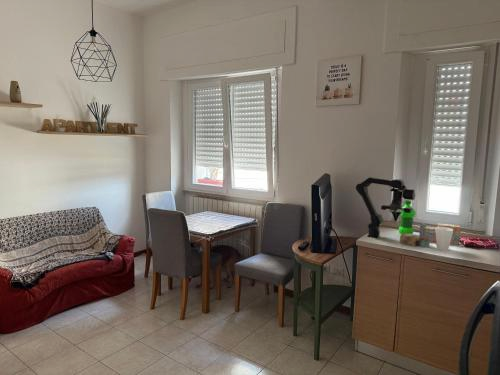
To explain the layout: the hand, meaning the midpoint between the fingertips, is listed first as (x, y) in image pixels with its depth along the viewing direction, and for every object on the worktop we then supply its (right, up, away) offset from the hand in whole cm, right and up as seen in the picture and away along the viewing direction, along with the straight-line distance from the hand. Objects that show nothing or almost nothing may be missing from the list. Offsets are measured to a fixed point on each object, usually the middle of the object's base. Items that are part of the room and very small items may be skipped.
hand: (395, 221), depth 231 cm
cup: (+14, -15, -10) cm, 23 cm away
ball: (+13, -13, -10) cm, 21 cm away
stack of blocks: (+30, -14, 0) cm, 33 cm away
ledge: (+8, -14, -6) cm, 17 cm away
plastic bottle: (+13, -12, +15) cm, 23 cm away
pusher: (+13, -9, -10) cm, 19 cm away
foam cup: (+22, -16, -17) cm, 32 cm away
